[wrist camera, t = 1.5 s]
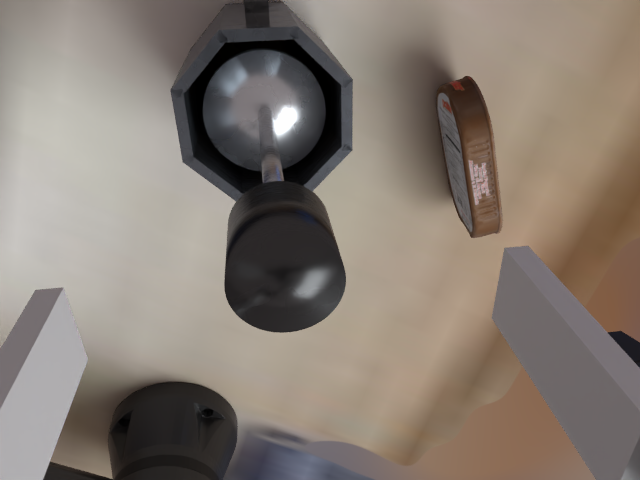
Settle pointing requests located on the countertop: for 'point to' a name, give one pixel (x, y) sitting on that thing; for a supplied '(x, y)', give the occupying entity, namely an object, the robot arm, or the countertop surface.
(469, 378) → the countertop surface
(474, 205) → the tin
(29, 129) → the countertop surface
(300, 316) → the plunger
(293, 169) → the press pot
